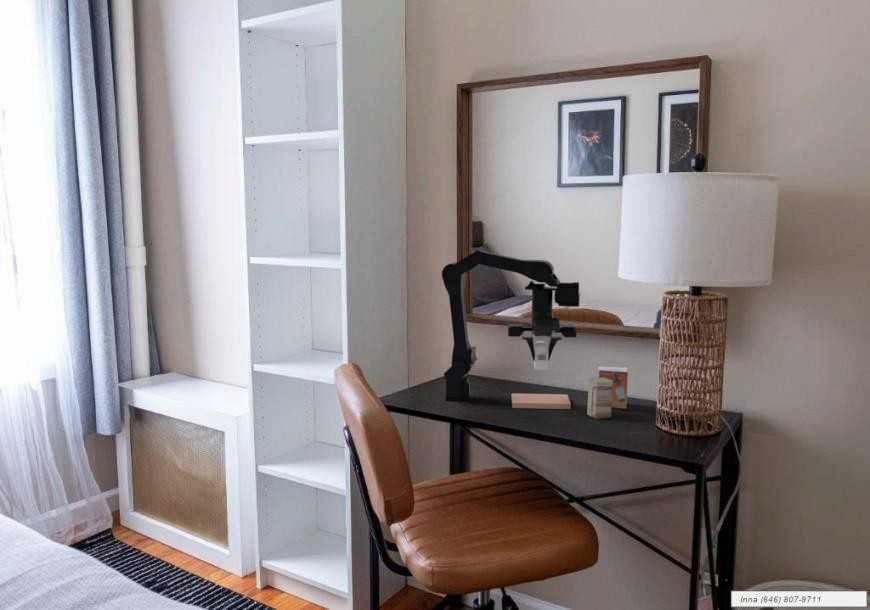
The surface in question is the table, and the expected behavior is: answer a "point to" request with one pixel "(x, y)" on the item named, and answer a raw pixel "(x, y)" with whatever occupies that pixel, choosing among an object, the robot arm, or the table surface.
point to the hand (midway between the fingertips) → (540, 360)
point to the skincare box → (599, 397)
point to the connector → (541, 356)
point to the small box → (616, 384)
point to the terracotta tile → (541, 401)
